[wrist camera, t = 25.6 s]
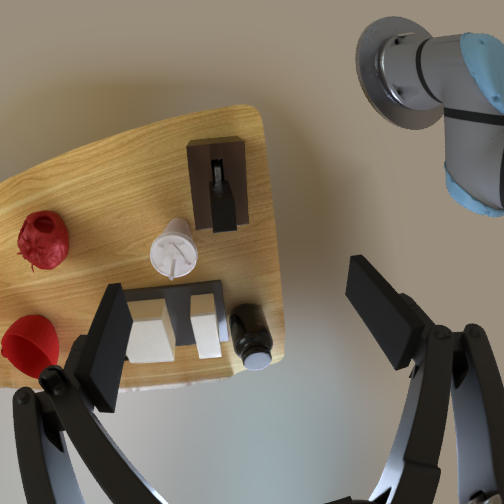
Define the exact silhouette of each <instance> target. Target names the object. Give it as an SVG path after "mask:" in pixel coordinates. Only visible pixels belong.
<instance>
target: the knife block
mask: <svg viewBox="0 0 504 504" xmlns="http://www.w3.org/2000/svg"><path fill="white" fill-rule="evenodd" d="M187 157H188V167H189V176H190V185H191V194H192V202H193V211H194V218H195V226H196V230H201V229H210V228H213V225H212V216H211V206H210V192H209V182H210V181H215V178H214V167H213V160H214V159H218V162H219V166H220V173H221V180H228V181H229V184H230V187H231V190H232V193H233V196H234V199H235V208H236V222H237V225H246V224H249V216H248V198H247V181H246V163H245V144H244V141H243V140H242V139H241V138H239V137H238V136H230V137H218V138H208V139H199V140H190V141H189V143H188V145H187Z"/></svg>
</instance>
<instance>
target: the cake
mask: <svg viewBox="0 0 504 504" xmlns="http://www.w3.org/2000/svg"><path fill="white" fill-rule="evenodd" d="M127 304H128V307H129V310H130V313H131V316H132V319H133V325H132V329H131V333H130V337H129V342H128V346H127V350H126V354H127V356H128V359H129V361H130V363H149V362H166V361H174V356H175V335H174V332H173V328H172V325H171V321H170V317H169V314H168V310H167V306H166V302H165V299H154V300H143V301H132V302H127Z"/></svg>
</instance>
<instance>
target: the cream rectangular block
mask: <svg viewBox="0 0 504 504" xmlns="http://www.w3.org/2000/svg"><path fill="white" fill-rule="evenodd" d="M190 318H191V323H192V327H193V331H194V336H195V340H196V344H197V349H198V353H199V357H200V359H203V358H213V357H222V353H221V344H220V334H219V328H218V321H217V315H216V308H215V301H214V294H213V293H212V294H203V295H193V296H191V311H190Z"/></svg>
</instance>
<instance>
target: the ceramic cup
mask: <svg viewBox="0 0 504 504" xmlns="http://www.w3.org/2000/svg"><path fill="white" fill-rule="evenodd" d="M1 344H2V350H1V354H2V356H3V357H5V358H8V360H9V361H10V362H11V363H12V364H13V365H14V366H15V367H16V368H17V369H18V370H20V371H21V372H23V373H24V374H26V375H28V376H30V377H33V378H36V379H38V378H39V375H40V373H41V372H42V370H43V369H45V368H46V367H48V366H51V365H57V361H58V356H59V341H58V337H57V334H56V331H55V329H54V326H53V325H52V323H51V322H50V321H49V320H48V319H46V318H45V317H43V316H40V315H27V316H24V317H21V318H19V319H18V320H17V321H15V322H14V323H13V324H12V325H11V326H10V328H9V329H8V330H7V331H6V333H5V334H4V336H3V338H2V341H1Z"/></svg>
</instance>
